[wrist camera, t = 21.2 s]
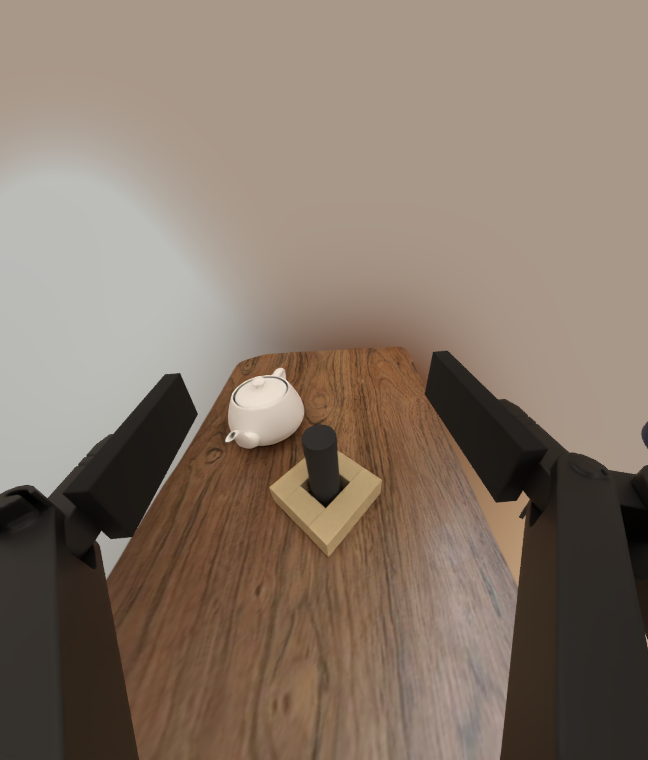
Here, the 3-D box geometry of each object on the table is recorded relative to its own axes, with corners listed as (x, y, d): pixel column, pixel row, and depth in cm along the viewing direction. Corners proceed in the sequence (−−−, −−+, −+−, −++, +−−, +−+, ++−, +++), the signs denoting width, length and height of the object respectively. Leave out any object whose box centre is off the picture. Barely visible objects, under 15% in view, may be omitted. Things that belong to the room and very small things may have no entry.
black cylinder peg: (344, 487, 37) (340, 427, 30) (336, 514, 34) (329, 453, 27) (318, 480, 38) (309, 421, 32) (308, 505, 35) (296, 445, 29)
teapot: (259, 392, 59) (247, 350, 53) (316, 395, 56) (311, 352, 50) (203, 474, 41) (177, 425, 35) (284, 485, 38) (270, 434, 32)
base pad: (380, 492, 36) (381, 479, 34) (328, 557, 30) (326, 545, 28) (325, 453, 42) (324, 441, 41) (273, 500, 36) (269, 487, 35)
